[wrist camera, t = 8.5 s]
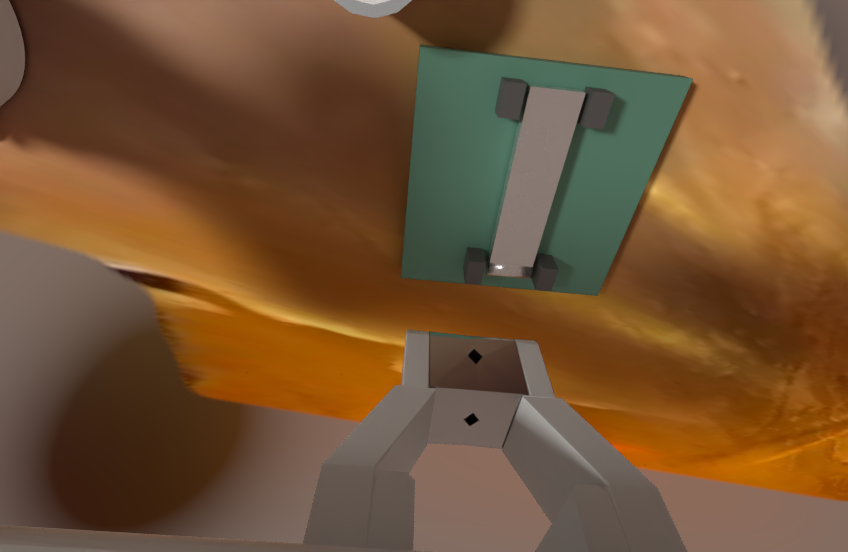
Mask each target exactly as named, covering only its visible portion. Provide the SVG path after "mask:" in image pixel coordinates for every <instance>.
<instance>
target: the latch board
mask: <svg viewBox="0 0 848 552" xmlns="http://www.w3.org/2000/svg"><path fill="white" fill-rule="evenodd" d="M692 80H693V79H692V78H688V77H685V76H680V75H672V74H663V73H655V72H646V71H638V70H629V69H621V68H612V67H604V66H596V65H587V64H579V63H570V62H562V61H553V60H545V59H536V58H528V57H520V56H511V55H503V54H494V53H486V52H477V51H469V50H461V49H452V48H444V47H435V46H427V45H420V52H419V64H418V76H417V88H416V100H415V112H414V124H413V136H412V148H411V160H410V172H409V184H408V196H407V208H406V220H405V232H404V244H403V256H402V268H401V278H408V279H419V280H430V281H441V282H452V283H463V284H474V285H485V286H496V287H507V288H518V289H529V290H540V291H551V292H562V293H573V294H584V295H595V296H598V294H599V291H600V289H601V287H602V285H603V282H604V280H605V278H606V275H607V273H608V271H609V269H610V266H611V264H612V262H613V260H614V257H615V255H616V253H617V251H618V248H619V246H620V244H621V241H622V239H623V237H624V235H625V232H626V230H627V228H628V226H629V223H630V221H631V219H632V217H633V214H634V212H635V210H636V207H637V205H638V203H639V201H640V198H641V196H642V194H643V192H644V189H645V187H646V185H647V183H648V180H649V178H650V176H651V173H652V171H653V169H654V167H655V164H656V162H657V160H658V158H659V155H660V153H661V151H662V148H663V146H664V144H665V142H666V139H667V137H668V135H669V133H670V130H671V128H672V126H673V124H674V121H675V119H676V117H677V114H678V112H679V110H680V108H681V105H682V103H683V101H684V99H685V96H686V94H687V92H688V90H689V87H690V85H691V83H692ZM527 84H535V85H544V86H552V87H561V88H570V89H578V90H582V91H584V92H585V93H586V94H585V97H584V101H583V104H582V107H581V110H580V114H579V117H578V120H577V123H576V127H575V130H574V133H573V136H572V140H571V143H570V146H569V150H568V153H567V156H566V159H565V163H564V166H563V169H562V172H561V176H560V179H559V182H558V186H557V189H556V192H555V195H554V199H553V202H552V205H551V208H550V212H549V215H548V218H547V222H546V225H545V228H544V231H543V235H542V238H541V241H540V244H539V248H538V251H537V254H536V258H535V261H534V264H533V269H532V275H531V277H530V279H523V278H512V277H501V276H491V275H486V273H485V266H486V260H487V257H488V254H489V250H490V245H491V241H492V236H493V232H494V228H495V223H496V219H497V214H498V210H499V205H500V201H501V197H502V192H503V188H504V183H505V179H506V174H507V170H508V166H509V161H510V157H511V152H512V148H513V143H514V139H515V135H516V130H517V126H518V121H519V117H520V112H521V108H522V104H523V99H524V95H525V90H526V86H527Z"/></svg>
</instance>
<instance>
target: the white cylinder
mask: <svg viewBox="0 0 848 552" xmlns="http://www.w3.org/2000/svg"><path fill="white" fill-rule="evenodd" d="M334 1H336V2H337V3H338V4H340V5H341V6H342V7H344V8H345V9H346V10H348V11H349V12H350V13H353V14H358V15H362V16H367V17H371V18H378V17H382V16H386V15H390V14H394V13H397V12H399V11H400V10H401V9H402V8H403V7H405V6H406V5H407V4H408V3H409V2H411V1H412V0H334Z"/></svg>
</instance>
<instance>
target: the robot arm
mask: <svg viewBox="0 0 848 552" xmlns="http://www.w3.org/2000/svg"><path fill="white" fill-rule="evenodd" d="M24 69H25V50H24V43H23V38H22V34H21V30H20V26H19V23H18V20H17V18H16V15H15V13H14V10H13V8H12V6H11V3H10V1H9V0H0V106H1V105H3V104H4V103H5V102H6V101H7V100H9V99H10V98H11V97H12V96H13V95H14V94H15V92H16V91H17V89H18V88H19V86H20V84H21V81H22V78H23V75H24ZM427 443H430V444H452V445H468V446H478V447H489V448H498V449H503V450H502V451H503V453H504V454H505V456H506V457H507V459H508V460H509V462H510V463H511V465H512V466H513V467H514V469H515V470H516V472H517V473H518V475H519V476H520V478H521V479H522V481H523V482H524V484H525V485H526V487H527V488H528V489H529V491H530V492H531V494H532V495H533V497H534V498H535V499H536V501H537V503H538V504H539V505H540V507H541V508H542V510H543V511H544V513H545V514H546V516H547V517H548V519H549V520H550V522H551V523H552V525H551V526H550V528H549V530H548V531H547V533H546V534H545V536H544V538H543V539H542V541H541V543H540V544H539V546H538V548H537V549H536V551H535V552H687V550H686V548H685V546H684V544H683V541H682V539H681V537H680V535H679V533H678V531H677V529H676V526H675V524H674V522H673V520H672V518H671V516H670V513H669V511H668V509H667V507H666V505H665V503H664V501H663V498H662V496H661V494H660V492H659V490H658V488H657V487H656V486H655V485H654V484H653V483H652V482H650V481H649V480H648V479H647V478H646V477H645V476H644V475H643V474H642V473H641V472H640V471H639V470H638V469H637V468H636V467H635V466H633V465H632V464H631V463H630V462H629V461H628V460H627V459H626V458H625V457H624V456H623V455H622V454H621V453H620V452H619V451H617V450H616V449H615V448H614V447H613V446H612V445H611V444H610V443H609V442H608V441H607V440H606V439H605V438H604V437H603V436H602V435H600V434H599V433H598V432H597V431H596V430H595V429H594V428H593V427H592V426H591V425H590V424H589V423H588V422H587V421H586V420H585V419H583V418H582V417H581V416H580V415H579V414H578V413H577V412H576V411H575V410H574V409H573V408H572V407H571V406H570V405H569V404H567V403H566V402H565V401H564V400H563V399H561V398H555V395H554V392H553V388H552V385H551V382H550V379H549V376H548V373H547V370H546V367H545V364H544V361H543V357H542V354H541V351H540V348H539V345H538V343H537V342H536V341H533V340H519V339H513V340H512V339H502V338H489V337H477V336H465V335H456V334H447V333H438V332H429V333H428V332H424V331H415V330H407V332H406V339H405V349H404V358H403V368H402V377H401V386H399V385H395V386H394V387H393V388H392V389H391V391H390V392H389V393H388V394H387V395H386V396H385V397H384V398H383V399H382V400H381V401H380V402H379V403H378V404H377V406H376V407H375V408H374V409H373V410H372V411H371V412H370V413H369V414H368V415H367V416H366V417H365V418H364V419H363V421H362V422H361V423H360V424H359V425H358V426H357V427H356V428H355V429H354V430H353V431H352V432H351V433H350V434H349V436H348V437H347V438H346V439H345V440H344V441H343V442H342V443H341V444H340V445H339V446H338V447H337V448H336V450H335V451H334V452H333V453H332V454H331V455H330V456H329V457H328V458H327V459H326V460H325V461H324V463H322V466H321V471H320V474H319V478H318V483H317V487H316V491H315V495H314V499H313V503H312V508H311V511H310V516H309V520H308V524H307V528H306V532H305V536H304V540H303V544H300V543H284V542H267V541H250V540H234V539H218V538H201V537H184V536H168V535H152V534H151V535H150V534H136V533H134V534H133V533H119V532H103V531H86V530H69V529H52V528H37V527H20V526H3V525H0V552H430V551H416V550H413V539H414V538H413V537H414V498H415V496H414V495H415V480H414V479H413V478H412V477H411V476H410V475H409V472H410V471H411V469H412V468H413V466H414V465H415V463H416V462H417V460H418V458H419V457H420V455H421V454H422V452H423V451H424V449H425V447H426V446H427Z"/></svg>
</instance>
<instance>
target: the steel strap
mask: <svg viewBox="0 0 848 552" xmlns="http://www.w3.org/2000/svg"><path fill="white" fill-rule="evenodd" d="M585 94H586V93H585V92H584V91H582V90H578V89H570V88H561V87H552V86H544V85H535V84H527V86H526V90H525V95H524V99H523V104H522V108H521V112H520V117H519V121H518V126H517V130H516V135H515V139H514V143H513V148H512V152H511V157H510V161H509V166H508V170H507V174H506V179H505V183H504V188H503V192H502V197H501V201H500V205H499V210H498V214H497V219H496V223H495V228H494V232H493V236H492V241H491V245H490V250H489V254H488V257H487V260H486V266H485V273H486V275H491V276H501V277H512V278H523V279H530V277H531V275H532V269H533V264H534V261H535V258H536V254H537V251H538V248H539V244H540V241H541V238H542V235H543V231H544V228H545V225H546V222H547V218H548V215H549V212H550V208H551V205H552V202H553V199H554V195H555V192H556V189H557V186H558V182H559V179H560V176H561V172H562V169H563V166H564V163H565V159H566V156H567V153H568V150H569V146H570V143H571V140H572V136H573V133H574V130H575V127H576V123H577V120H578V117H579V114H580V110H581V107H582V104H583V101H584V97H585Z"/></svg>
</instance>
